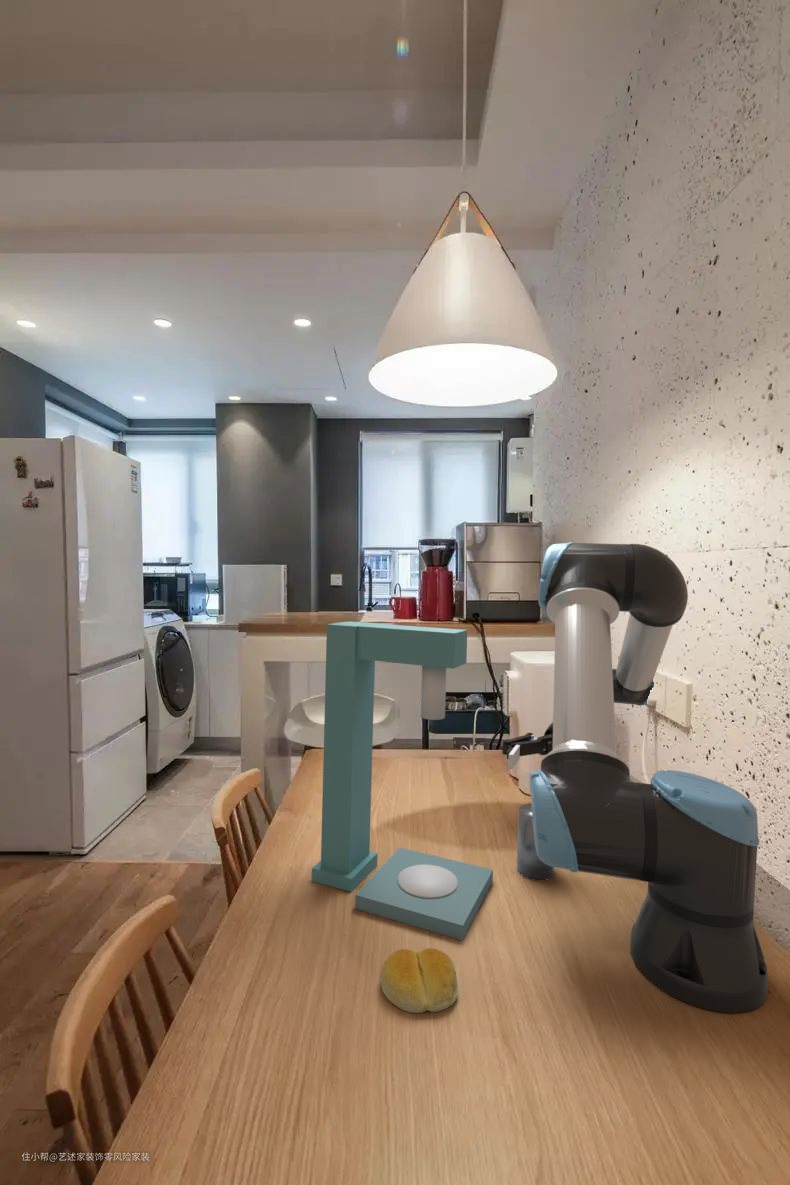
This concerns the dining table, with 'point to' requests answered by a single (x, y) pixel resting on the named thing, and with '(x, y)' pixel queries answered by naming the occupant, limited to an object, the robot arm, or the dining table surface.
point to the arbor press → (409, 878)
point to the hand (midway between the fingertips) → (547, 768)
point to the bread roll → (419, 980)
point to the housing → (529, 849)
